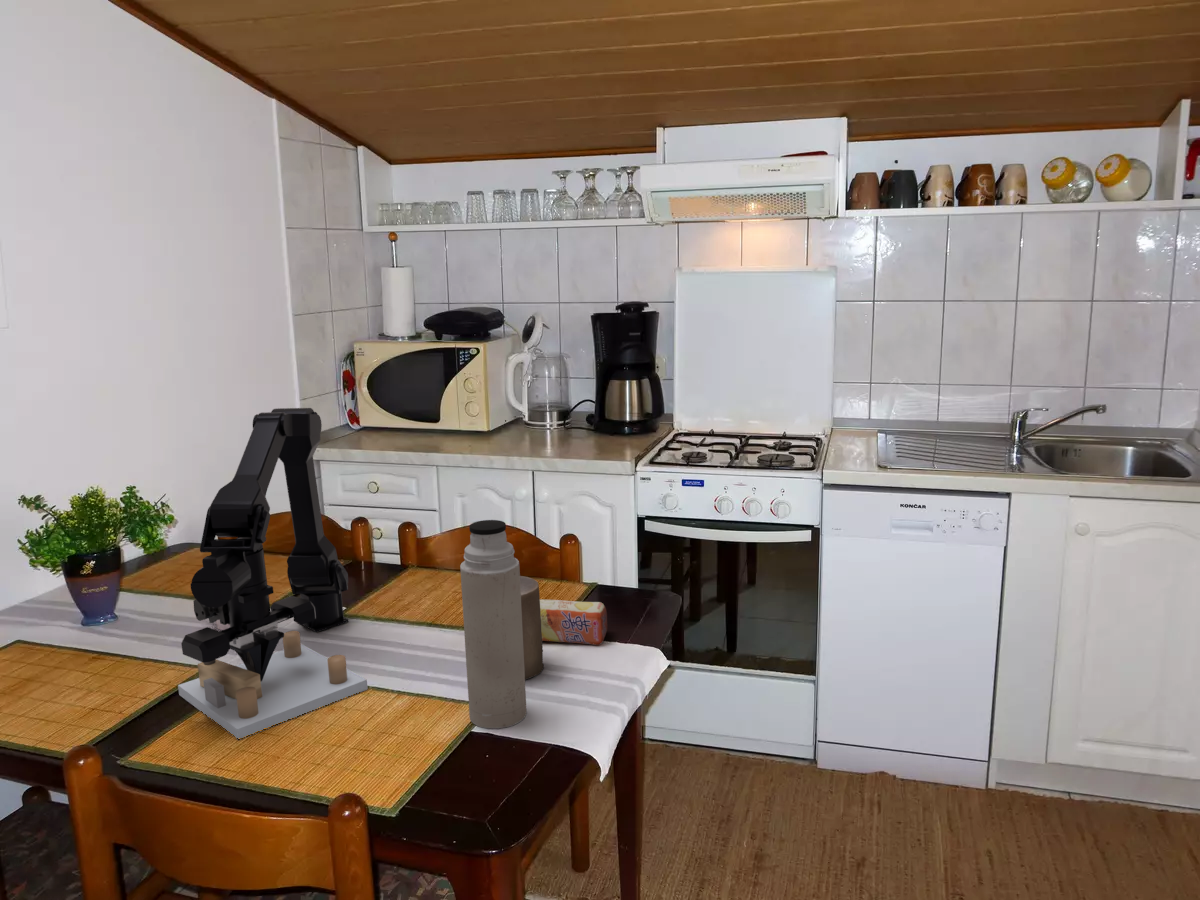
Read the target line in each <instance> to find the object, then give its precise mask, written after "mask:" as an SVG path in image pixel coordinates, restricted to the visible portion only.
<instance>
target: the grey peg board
mask: <svg viewBox="0 0 1200 900" xmlns="http://www.w3.org/2000/svg"><path fill="white" fill-rule="evenodd" d="M283 633H284V637H283V638H282V642H283V649H282V650H278V651H276V652H275V651H274V652H273V654H272V656H271V659H270V661H269V664H268V667H267V669H266V672H265V675H264V677H263V680H262V681H261V690H262V697H261V698H258V699H257V695H256V688H255V687H244V688H241V689H239V690H237V691H236V697H237V699H235V698H232V697H229V696H226V695H225V693H224V686H223V685H222V684H220V683H219V682H217V681H216V680H214V679H213V678H209V679H206V680H203V681H204V687H202V686H200V679H199V677H197V678H195V679H192V680H190V681H186V682H182V683H180V684H177V688H178V689H177V690H178V694H179V696H180V697H181V698H183V699H184V700H185V701H186V702H188V703H189V704H190V705H192V706H194V708H196V709H197V710H198V711H200V712H201V711H202V712H203V713H202V712H201V713H202V714H203V715H205V714H206V715H207V718H209V717H210V718H211V719H210V718H209V719H210V720H212V719H213V720H214V721H215V722H217V723H218V724H219V725H221V726H222V727H223V728H225V729H226V730H227V731H229V732H230V733H231V734H233V735H234V736H235V737H236V738H235V737H234V736H233V735H232V736H233V737H234V738H235V739H237V738H238V739H239V738H243V737H245V736H247V735H250V734H253V733H255V732H257V731H260V730H263V729H264V728H268V727H271V726H272V725H275V724H278V723H280V722H283V721H286V722H288V721H287V720H288V719H291V718H294V717H296V718H298V717H297V716H299V715H301V716H303V715H302V714H304V713H306V714H308V713H307V712H309V711H311V712H313V711H312V710H314V711H316V710H315V709H317V708H319V707H322V706H324V707H326V706H325V705H327V706H329V705H331V704H330V703H332V702H334V703H336V702H335V701H337V702H339V701H341V700H340V699H342V700H344V699H343V698H345V697H347V698H349V697H348V696H350V697H352V696H354V695H353V694H355V695H356V693H357V694H359V692H360V693H362V692H364V691H367V690H368V679H366V678H365V677H363V676H361V675H360V674H357V673H356V672H354V671H352V670H350V669H349V668H347V660H346V655H343V654H335V655H331V656H329V657H327V656H325V655H323V654H321V653H319V652H317V651H315V650H313V649H311V648H309V647H308V646H306V645H304V644H302V643H301V642H302V641H301V635H300V634H301V633H300V632H299V631H297V630H291V631H286V632H283ZM236 666H237V667H240V668H243V669H246V670H247V668H246V666H245V665H244V663H243V662H242V663H240V664H237V665H236ZM351 695H352V696H351ZM345 699H346V698H345ZM338 700H339V701H338ZM328 704H329V705H328ZM332 704H333V703H332ZM322 708H323V707H322ZM319 709H320V708H319ZM317 710H318V709H317ZM309 713H310V712H309ZM206 715H205V716H206ZM304 715H305V714H304ZM299 717H300V716H299ZM294 719H295V718H294ZM213 720H212V721H213ZM291 720H292V719H291ZM214 721H213V722H214ZM215 722H214V723H215ZM217 723H216V724H217ZM283 723H284V722H283ZM218 724H217V725H218ZM219 725H218V726H219ZM278 725H279V724H278ZM221 726H220V727H221ZM222 727H221V728H222ZM223 728H222V729H223ZM271 728H272V727H271ZM225 729H224V730H225ZM268 729H269V728H268ZM226 730H225V731H226ZM227 731H226V732H227ZM263 731H264V730H263ZM229 732H228V733H229ZM260 732H261V731H260ZM230 733H229V734H230ZM231 734H230V735H231ZM255 734H256V733H255ZM253 735H254V734H253ZM250 736H251V735H250ZM245 738H246V737H245ZM238 739H237V740H238ZM243 739H244V738H243Z"/></svg>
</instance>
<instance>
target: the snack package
mask: <svg viewBox="0 0 1200 900" xmlns="http://www.w3.org/2000/svg"><path fill="white" fill-rule="evenodd" d="M540 612H541V632H542V642H556V643H557V642H558V643H573V644H582V645H584V644H586V645H593V646H598V645H602V643H604V640H605V637H606V635H607V631H608V613H607V608H606V606H605V605H604V603H602V602H601V601H576V600H575V601H573V600H564V599H563V600H561V599H540Z"/></svg>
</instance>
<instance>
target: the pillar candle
mask: <svg viewBox="0 0 1200 900" xmlns="http://www.w3.org/2000/svg"><path fill="white" fill-rule="evenodd" d="M520 589H521V609H522V630H523V650H524V671H525V680H528V679H530V678H533V677H535V676H536V677H537V676H538V675H540V674H541V673H542V672H543V671H544V668H545V664H544V658H543V657H544V656H543V652H544V649H543V641H542V632H541V612H540V597H541V596H540V584H539V581H537V580H536V579H534V578H531V577H529V576H523V575H520Z"/></svg>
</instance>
